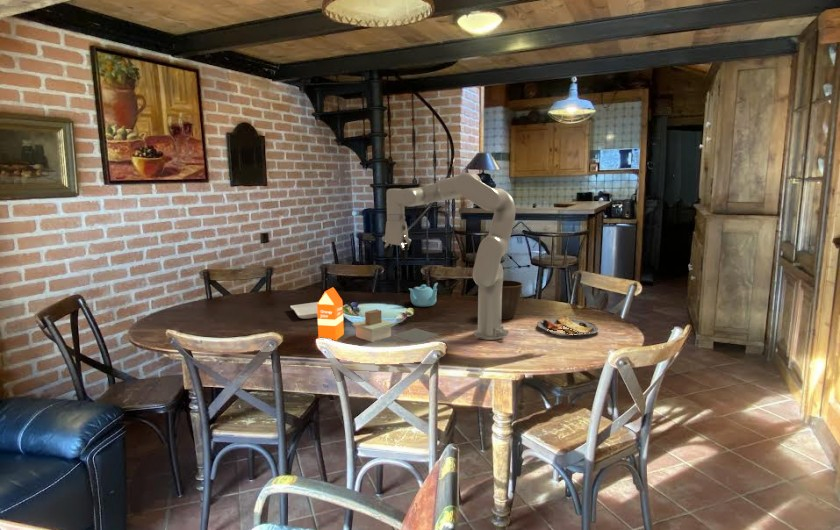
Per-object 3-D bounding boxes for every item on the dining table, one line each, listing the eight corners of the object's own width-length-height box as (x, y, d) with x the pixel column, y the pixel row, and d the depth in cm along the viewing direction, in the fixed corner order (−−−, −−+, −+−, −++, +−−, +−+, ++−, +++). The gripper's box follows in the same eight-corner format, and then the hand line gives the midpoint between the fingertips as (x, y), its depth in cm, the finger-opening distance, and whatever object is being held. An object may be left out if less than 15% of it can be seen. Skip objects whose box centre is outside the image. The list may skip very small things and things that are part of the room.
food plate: (527, 324, 228) (527, 317, 228) (571, 319, 237) (572, 312, 236) (561, 343, 205) (562, 334, 205) (609, 336, 214) (610, 328, 213)
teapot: (411, 300, 275) (411, 281, 274) (439, 301, 274) (439, 282, 272) (408, 307, 261) (407, 287, 259) (438, 308, 260) (438, 288, 258)
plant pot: (495, 322, 233) (496, 287, 230) (484, 314, 247) (485, 281, 245) (526, 320, 236) (527, 285, 233) (514, 312, 250) (515, 279, 248)
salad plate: (298, 322, 238) (298, 314, 237) (289, 311, 257) (289, 304, 256) (343, 316, 246) (343, 309, 246) (331, 306, 266) (331, 300, 265)
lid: (394, 325, 212) (394, 311, 211) (371, 331, 204) (371, 316, 203) (375, 320, 220) (374, 306, 219) (352, 325, 212) (352, 311, 211)
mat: (439, 335, 214) (439, 334, 214) (415, 343, 204) (415, 342, 204) (415, 329, 224) (415, 328, 224) (391, 336, 214) (391, 335, 214)
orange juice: (344, 333, 218) (342, 287, 215) (336, 340, 210) (334, 291, 206) (326, 332, 220) (324, 286, 217) (318, 339, 211) (315, 291, 208)
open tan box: (391, 337, 213) (390, 325, 212) (372, 342, 206) (372, 330, 205) (375, 332, 220) (374, 320, 219) (356, 337, 213) (356, 325, 212)
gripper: (416, 218, 218) (416, 258, 220) (388, 216, 230) (389, 255, 232) (403, 219, 212) (404, 261, 215) (375, 217, 224) (376, 256, 227)
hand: (396, 257), depth 224 cm, fingers open, 9 cm apart
